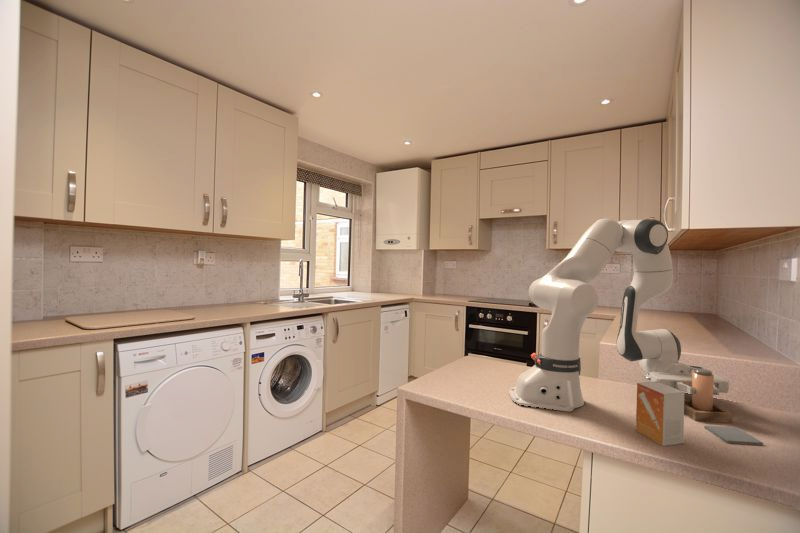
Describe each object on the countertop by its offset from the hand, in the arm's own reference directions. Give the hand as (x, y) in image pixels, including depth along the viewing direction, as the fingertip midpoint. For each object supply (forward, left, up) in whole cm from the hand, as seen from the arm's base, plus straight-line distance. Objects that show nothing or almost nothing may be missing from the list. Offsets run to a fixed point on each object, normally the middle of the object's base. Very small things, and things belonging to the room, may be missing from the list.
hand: (704, 391), depth 106 cm
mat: (-1, -12, -7) cm, 14 cm away
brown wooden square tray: (0, +1, -7) cm, 7 cm away
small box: (-20, -15, -7) cm, 26 cm away
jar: (0, +1, -7) cm, 7 cm away
